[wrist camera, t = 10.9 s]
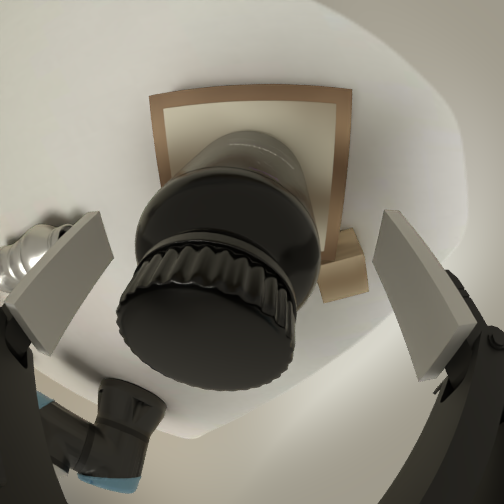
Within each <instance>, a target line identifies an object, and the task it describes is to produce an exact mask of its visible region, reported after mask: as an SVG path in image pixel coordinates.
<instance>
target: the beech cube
mask: <svg viewBox="0 0 504 504" xmlns="http://www.w3.org/2000/svg"><path fill="white" fill-rule="evenodd" d="M317 282H318V285H319V289H320V292H321V296H322V299H323V303H327V302H331V301H335V300H339V299H343V298H346V297H350V296H354V295H358V294H361V293H365V292H369V288H368V279H367V271H366V264H365V257H364V253H363V250H362V248H361V246H360V244H359V241H358V239H357V237H356V235H355V233H354V230H353V228H350V229H346V230H342V231H340V232H339V239H338V245H337V251H336V257H335V261H328V260H321V268H320V273H319V277H318V280H317Z"/></svg>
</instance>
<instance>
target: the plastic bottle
mask: <svg viewBox="0 0 504 504" xmlns="http://www.w3.org/2000/svg"><path fill="white" fill-rule="evenodd" d="M72 226H73V225H72V224H64V225H62V226H59V227H56V228H55V227H53V226H51V225H47V224H38V225H35V226H33V227H32V228H30V229H29V230H28V231H27V232H26V233H25V234H24V235H23V236H22V237H21V238H20V240H18V241H17V242H16V243H14V244H12V245H7V246H2V247H0V291H3V292H6V293H11V292H12V290H13V289H14V288H15V287H16V286H17V284H18V283H19V282H20V281H21V280H22V278H23V277H24V276H25V275H26V274H27V273H28V271H29V270H30V269H31V268H32V267H33V266H34V265H35V264H36V263H37V261H38V260H39V259H40V258H41V257H42V256H43V255H44V254H45V253H46V252H47V251H48V250H49V249H50V248H51V247H52V246H53V245H54V244H55V243H56V242H57V241H58V240H59V239H60V238H61V237H62V236H63V235H64V234H65V233H66V232H67V231H68V230H69V229H70V228H71V227H72Z"/></svg>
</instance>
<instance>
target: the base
mask: <svg viewBox="0 0 504 504" xmlns="http://www.w3.org/2000/svg"><path fill="white" fill-rule="evenodd" d="M149 101H150V111H151V120H152V129H153V137H154V144H155V151H156V158H157V165H158V171H159V178H160V184H161V188H162V187H163V186H164V185H165V184H166V183H167V182H168V181H169V180H170V179H171V178H172V177H173V176H174V175H175V174H176V173H177V172H178V171H179V170H181V169H182V168H183V167H184V166H185V165H186V164H187V163H188V162H189V161H190V160H192V159H193V158H194V157H195V156H196V155H197V154H198V153H199V152H201V151H202V150H203V149H204V148H205V147H206V146H208V145H209V144H210V143H212V142H213V141H215V140H216V139H218V138H220V137H222V136H224V135H227V134H229V133H233V132H239V131H255V132H260V133H264V134H267V135H270V136H272V137H274V138H276V139H277V140H279V141H281V142H282V143H283V144H285V145H286V146H287V147H288V148H289V149H290V150H291V151H292V152H293V154H294V155H295V157H296V158H297V160H298V161H299V163H300V166H301V168H302V171H303V174H304V177H305V180H306V184H307V188H308V192H309V196H310V200H311V204H312V208H313V213H314V217H315V221H316V226H317V230H318V235H319V240H320V248H321V260H328V261H335V257H336V251H337V245H338V239H339V232H340V225H341V218H342V211H343V203H344V195H345V187H346V178H347V168H348V157H349V144H350V130H351V110H352V89H344V88H335V87H324V86H311V85H290V84H252V85H230V86H216V87H206V88H197V89H188V90H181V91H174V92H168V93H162V94H156V95H151V96H149Z"/></svg>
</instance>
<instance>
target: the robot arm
mask: <svg viewBox="0 0 504 504" xmlns="http://www.w3.org/2000/svg"><path fill="white" fill-rule="evenodd" d="M113 259H114V257H113V254H112V251H111V248H110V245H109V242H108V238H107V235H106V232H105V229H104V225H103V222H102V219H101V215H100V212H99V211H95V212H88V213H86V214H85V215H84V216H83V217H82V218H81V219H80V220H79V221H78V222H77V223H75V224H74V225H73V226H72V227H71V228H70V229H69V230H68V231H67V232H66V233H65V234H64V235H63V236H62V237H61V238H60V239H59V240H58V241H57V242H56V243H55V244H54V245H53V246H52V247H51V248H50V249H49V250H48V251H47V252H46V253H45V254H44V255H43V256H42V257H41V258H40V259H39V260H38V261H37V263H36V264H35V265H34V266H33V267H32V268H31V269H30V270H29V271H28V273H27V274H26V275H25V276H24V277H23V278H22V280H21V281H20V282H19V283H18V284H17V286H16V287H15V288H14V289H13V290H12V292H11V293H10V294H9V295H8V297H7V298H6V299H5V300H4V304H3V306H2V307H0V504H68V503H67V502H66V499H65V497H64V494H63V492H62V489H61V487H60V484H59V481H58V479H59V478H60V477H64V476H67V475H68V472H69V468H71V469H73V470H75V471H77V472H78V473H77V475H78V478H79V479H80V480H82V481H84V482H86V483H89V484H92V485H95V486H97V487H100V488H104V489H107V490H111V491H116V492H120V493H133V492H135V491H136V489H137V486H138V483H139V480H140V478H141V473H142V468H143V464H144V460H145V455H146V451H147V447H148V443H149V439H150V436H151V434H152V433H153V432H154V430H155V429H156V427H157V426H158V425H159V423H160V422H161V420H162V419H163V418H164V415H165V411H166V405H165V403H164V402H163V401H162V400H161V399H159V398H158V397H156V396H155V395H153V394H152V393H150V392H148V391H146V390H144V389H142V388H140V387H138V386H135V385H133V384H130V383H127V382H124V381H121V380H117V379H110V378H107V379H103V380H102V382H101V384H100V386H99V390H98V415H97V418H96V421H95V423H94V424H92V423H90V422H88V421H86V420H85V419H83V418H81V417H79V416H78V415H76V414H74V413H73V412H71V411H69V410H67V409H66V408H64V407H62V406H61V405H60V404H58V403H57V402H55V400H53V399H50V398H49V397H47V396H45V395H44V394H42V393H41V392H39V391H36V384H35V376H34V364H33V353H32V350H31V349H30V348H29V346H30V344H31V342H32V344H33V345H34V346H35V348H36V349H37V350H38V351H39V352H40V353H43V354H46V355H48V356H51V354H52V353H53V351H54V349H55V347H56V346H57V344H58V342H59V340H60V339H61V337H62V335H63V333H64V332H65V330H66V328H67V327H68V325H69V323H70V322H71V320H72V319H73V317H74V315H75V314H76V312H77V311H78V309H79V308H80V306H81V304H82V303H83V301H84V300H85V298H86V297H87V295H88V294H89V292H90V291H91V289H92V288H93V287H94V285H95V284H96V282H97V281H98V279H99V278H100V276H101V275H102V274H103V272H104V271H105V269H106V268H107V267H108V265H109V264H110V263H111V261H112V260H113ZM372 262H373V264H374V266H375V268H376V271H377V273H378V275H379V277H380V280H381V282H382V284H383V286H384V289H385V291H386V293H387V296H388V298H389V301H390V303H391V305H392V308H393V310H394V313H395V315H396V318H397V321H398V323H399V326H400V328H401V331H402V333H403V337H404V339H405V342H406V344H407V348H408V351H409V354H410V356H411V359H412V363H413V366H414V369H415V372H416V375H417V378H418V382H421V381H426V380H430V379H435V378H437V377H438V376H439V374H440V373H441V372H442V371H443V370H444V368H445V369H446V372H447V374H448V376H447V377H446V378H445V379H444V381H443V382H442V383H441V384H440V385H439V386H438V387H437V388H436V389H435V391H434V392H433V393H434V394H436V393H437V392H438V391H439V390H440V392H439V394H438V397H437V399H436V402H435V404H434V407H433V409H432V411H431V413H430V416H429V418H428V420H427V422H426V424H425V426H424V429H423V431H422V433H421V435H420V437H419V439H418V441H417V443H416V444H415V446H414V448H413V450H412V452H411V454H410V455H409V457H408V459H407V460H406V462H405V464H404V466H403V467H402V469H401V470H400V472H399V474H398V475H397V477H396V478H395V480H394V481H393V483H392V485H391V486H390V487H389V489H388V490H387V492H386V493H385V494H384V496H383V497H382V499H381V500H380V501H379V503H378V504H504V332H503V331H502V330H500V329H499V328H498V327H494V326H487V324H486V323H485V321H484V319H483V317H482V316H481V314H480V312H479V311H478V309H477V307H476V306H475V304H474V302H473V301H472V299H471V298H469V294H468V293H467V291H466V290H464V287H463V285H462V284H461V282H460V281H459V280H458V278H457V277H456V276H455V275H453V274H452V273H451V272H450V271H449V270H444V268H443V267H442V265H441V264H440V263H439V261H438V260H437V258H436V257H435V256H434V254H433V253H432V252H431V250H430V249H429V247H428V246H427V245H426V244H425V242H424V241H423V240H422V238H421V237H420V236H419V234H418V233H417V232H416V231H415V229H414V228H413V227H412V226H411V224H410V223H409V222H408V221H407V220H406V218H405V217H404V216H403V215H402V214H401V212H400V211H395V210H384V213H383V218H382V223H381V228H380V232H379V237H378V241H377V245H376V249H375V254H374V257H373V261H372Z"/></svg>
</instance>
